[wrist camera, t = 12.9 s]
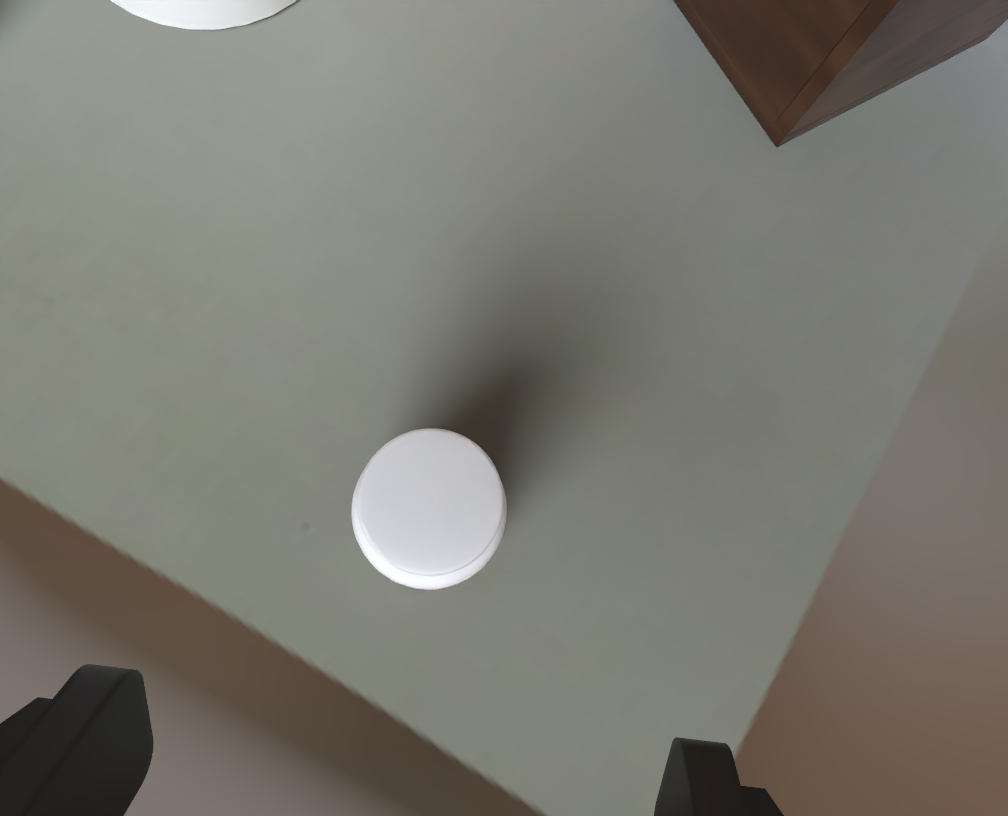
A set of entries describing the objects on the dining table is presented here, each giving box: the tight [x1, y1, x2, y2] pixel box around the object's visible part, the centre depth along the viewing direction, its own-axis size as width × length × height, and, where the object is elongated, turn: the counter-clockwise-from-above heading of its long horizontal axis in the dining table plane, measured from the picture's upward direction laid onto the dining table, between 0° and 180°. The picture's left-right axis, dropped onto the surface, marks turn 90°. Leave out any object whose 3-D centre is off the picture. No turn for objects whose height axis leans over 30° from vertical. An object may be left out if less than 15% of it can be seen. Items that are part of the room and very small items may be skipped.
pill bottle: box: [352, 428, 507, 590], centre depth 23 cm, size 5×5×8 cm
